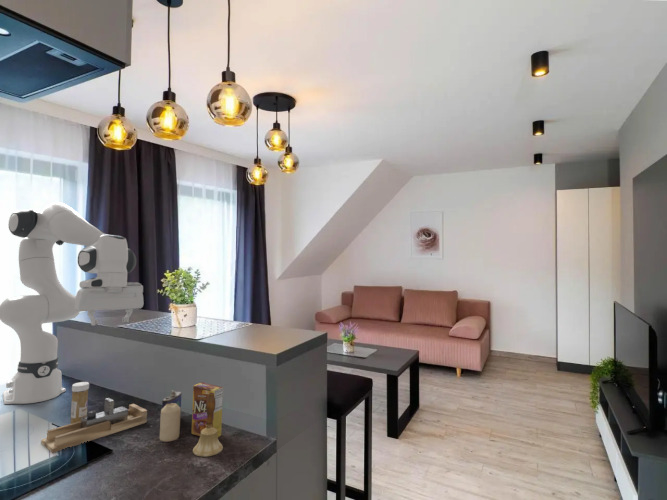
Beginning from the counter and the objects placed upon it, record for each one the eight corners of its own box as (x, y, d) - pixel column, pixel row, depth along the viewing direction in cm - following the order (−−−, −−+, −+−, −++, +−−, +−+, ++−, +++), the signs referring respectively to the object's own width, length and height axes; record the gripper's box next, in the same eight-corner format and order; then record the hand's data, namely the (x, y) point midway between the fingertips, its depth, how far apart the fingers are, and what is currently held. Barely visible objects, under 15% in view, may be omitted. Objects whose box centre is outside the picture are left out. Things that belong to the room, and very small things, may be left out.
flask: (175, 417, 128) (177, 385, 128) (183, 418, 128) (184, 386, 128) (159, 428, 119) (160, 394, 119) (167, 429, 118) (169, 395, 119)
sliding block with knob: (80, 431, 113) (81, 404, 113) (121, 418, 123) (122, 394, 123) (85, 434, 111) (87, 407, 111) (127, 421, 120) (128, 396, 121)
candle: (169, 443, 110) (171, 409, 110) (155, 439, 111) (157, 405, 112) (183, 435, 115) (184, 402, 115) (169, 432, 117) (170, 400, 117)
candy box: (190, 434, 115) (192, 385, 116) (200, 429, 119) (202, 381, 120) (211, 441, 112) (214, 390, 112) (221, 435, 116) (224, 386, 116)
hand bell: (207, 440, 112) (210, 387, 113) (229, 447, 109) (231, 391, 109) (186, 452, 105) (188, 395, 105) (208, 460, 101) (211, 400, 102)
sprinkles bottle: (86, 427, 118) (89, 384, 119) (69, 430, 116) (71, 386, 116) (86, 422, 122) (89, 380, 122) (69, 424, 119) (72, 382, 120)
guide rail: (41, 443, 107) (42, 428, 107) (133, 415, 128) (133, 403, 128) (52, 453, 102) (53, 438, 102) (146, 422, 123) (147, 410, 123)
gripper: (138, 282, 135) (137, 321, 133) (73, 282, 118) (71, 326, 117) (147, 282, 131) (146, 321, 130) (81, 281, 115) (79, 327, 113)
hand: (110, 323), depth 123 cm, fingers open, 8 cm apart
